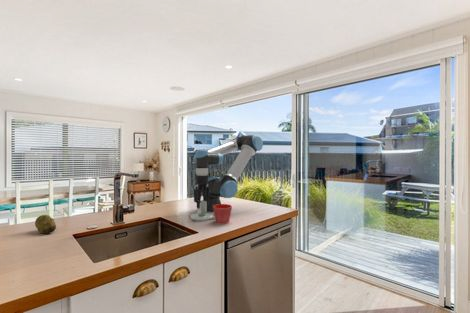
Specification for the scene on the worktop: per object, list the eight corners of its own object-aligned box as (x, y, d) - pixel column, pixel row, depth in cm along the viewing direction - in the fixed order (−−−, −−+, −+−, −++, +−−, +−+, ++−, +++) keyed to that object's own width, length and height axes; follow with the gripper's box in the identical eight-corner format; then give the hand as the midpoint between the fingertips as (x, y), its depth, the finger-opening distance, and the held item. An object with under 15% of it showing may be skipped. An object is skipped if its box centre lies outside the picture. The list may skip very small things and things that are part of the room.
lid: (188, 215, 160) (188, 199, 159) (209, 213, 165) (209, 198, 165) (193, 221, 147) (193, 204, 146) (215, 219, 152) (216, 202, 151)
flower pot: (229, 225, 141) (229, 208, 141) (210, 224, 143) (210, 207, 143) (233, 220, 151) (233, 204, 151) (215, 219, 153) (216, 203, 153)
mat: (188, 216, 160) (188, 215, 160) (209, 214, 165) (209, 213, 165) (193, 222, 147) (193, 221, 147) (215, 220, 152) (215, 219, 152)
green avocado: (35, 237, 120) (35, 220, 120) (34, 230, 130) (34, 214, 130) (56, 233, 126) (56, 217, 125) (54, 227, 136) (54, 212, 135)
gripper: (206, 173, 164) (206, 208, 165) (187, 175, 150) (187, 214, 150) (215, 174, 160) (215, 210, 161) (197, 176, 146) (196, 216, 146)
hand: (201, 212), depth 156 cm, fingers closed on lid, 4 cm apart
